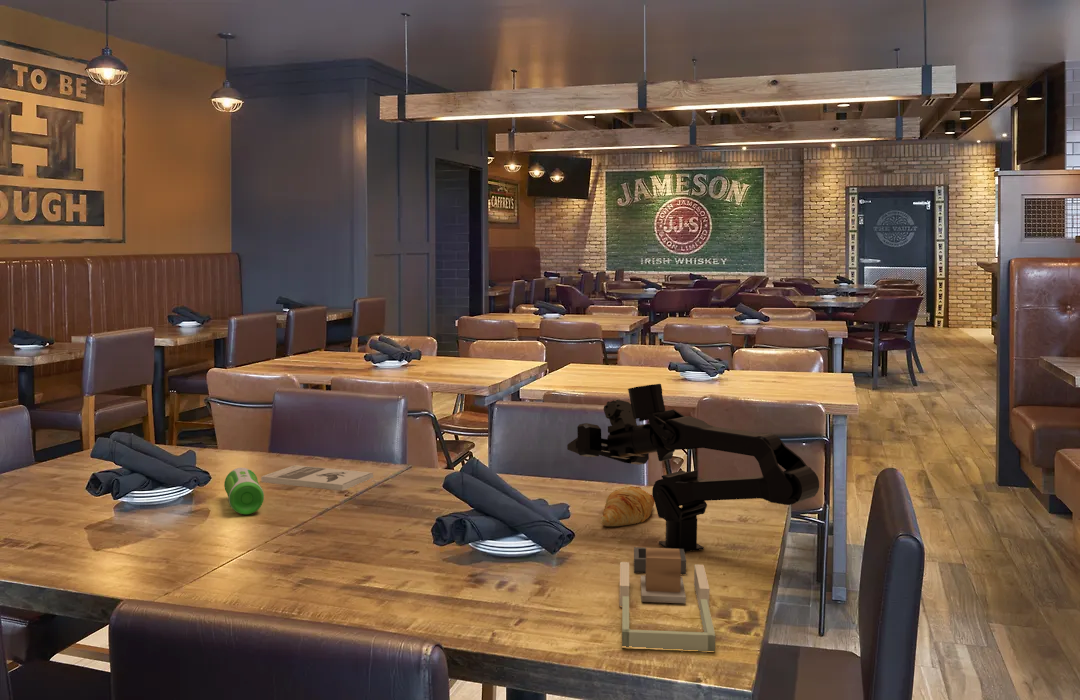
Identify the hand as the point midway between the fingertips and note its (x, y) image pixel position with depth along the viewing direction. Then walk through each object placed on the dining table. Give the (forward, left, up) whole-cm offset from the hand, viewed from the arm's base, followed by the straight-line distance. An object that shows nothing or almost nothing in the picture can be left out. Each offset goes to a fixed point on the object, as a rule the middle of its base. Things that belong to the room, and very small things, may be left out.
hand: (583, 449), depth 201 cm
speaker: (+37, +65, -16) cm, 76 cm away
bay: (-59, +13, -15) cm, 62 cm away
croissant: (0, -10, -16) cm, 19 cm away
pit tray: (-32, -1, -15) cm, 35 cm away
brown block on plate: (-44, +5, -15) cm, 47 cm away
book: (+57, +46, -16) cm, 75 cm away
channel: (-46, +6, -15) cm, 49 cm away
